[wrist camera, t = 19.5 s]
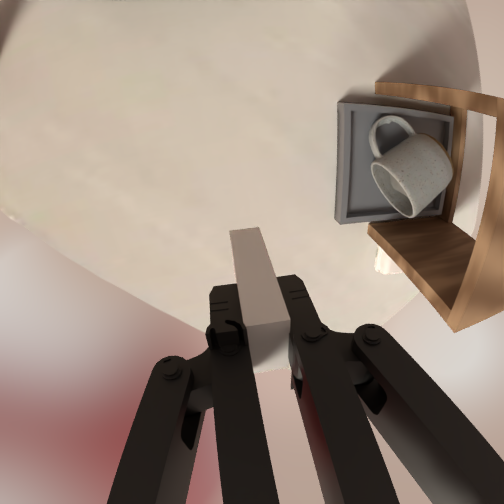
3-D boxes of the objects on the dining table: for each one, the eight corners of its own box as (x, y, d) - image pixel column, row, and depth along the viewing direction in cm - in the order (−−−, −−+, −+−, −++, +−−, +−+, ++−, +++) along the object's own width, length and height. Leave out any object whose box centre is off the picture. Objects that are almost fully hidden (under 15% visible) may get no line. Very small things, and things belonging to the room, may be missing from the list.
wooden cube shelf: (375, 81, 28) (513, 101, 11) (455, 96, 29) (570, 131, 12) (367, 233, 38) (454, 332, 21) (440, 224, 39) (525, 298, 22)
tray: (337, 102, 29) (344, 103, 27) (445, 114, 30) (453, 116, 29) (334, 218, 36) (339, 224, 34) (434, 209, 37) (441, 214, 36)
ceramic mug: (428, 170, 33) (466, 189, 27) (386, 204, 35) (419, 230, 28) (397, 101, 28) (438, 107, 22) (347, 136, 30) (382, 149, 23)
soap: (371, 270, 42) (380, 281, 39) (379, 230, 38) (389, 239, 36) (416, 263, 43) (426, 273, 40) (426, 225, 39) (437, 234, 37)
